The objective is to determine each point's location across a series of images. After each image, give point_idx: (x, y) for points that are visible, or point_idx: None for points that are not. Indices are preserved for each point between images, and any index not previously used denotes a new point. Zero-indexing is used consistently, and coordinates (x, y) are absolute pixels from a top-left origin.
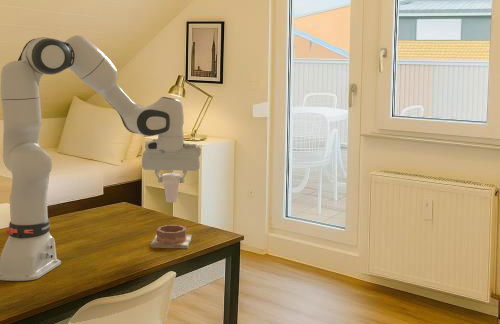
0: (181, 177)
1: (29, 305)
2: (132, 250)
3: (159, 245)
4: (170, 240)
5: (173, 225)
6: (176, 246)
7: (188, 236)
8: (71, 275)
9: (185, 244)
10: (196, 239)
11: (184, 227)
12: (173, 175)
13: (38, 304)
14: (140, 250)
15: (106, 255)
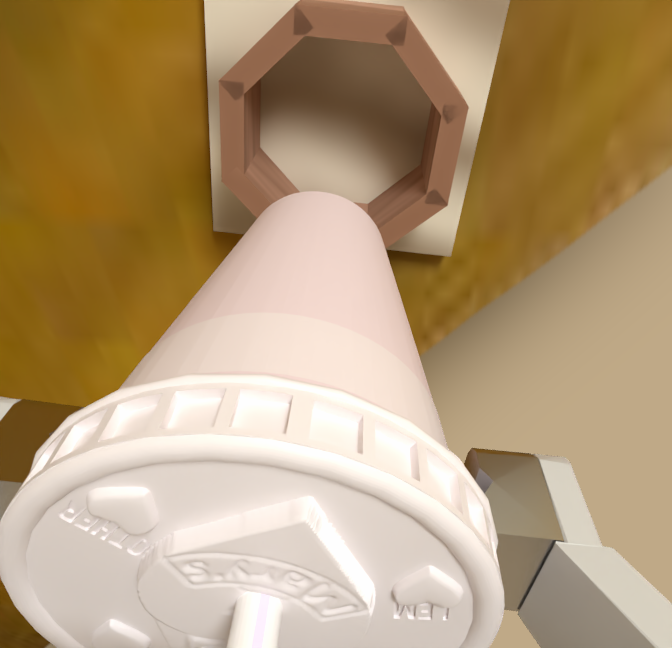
0: (523, 557)
1: (24, 638)
2: (128, 269)
3: None
4: None
5: (349, 30)
6: None
7: (478, 34)
8: None
9: (439, 234)
10: (539, 39)
11: (451, 105)
12: (317, 645)
13: (42, 637)
14: (173, 271)
15: (26, 335)
